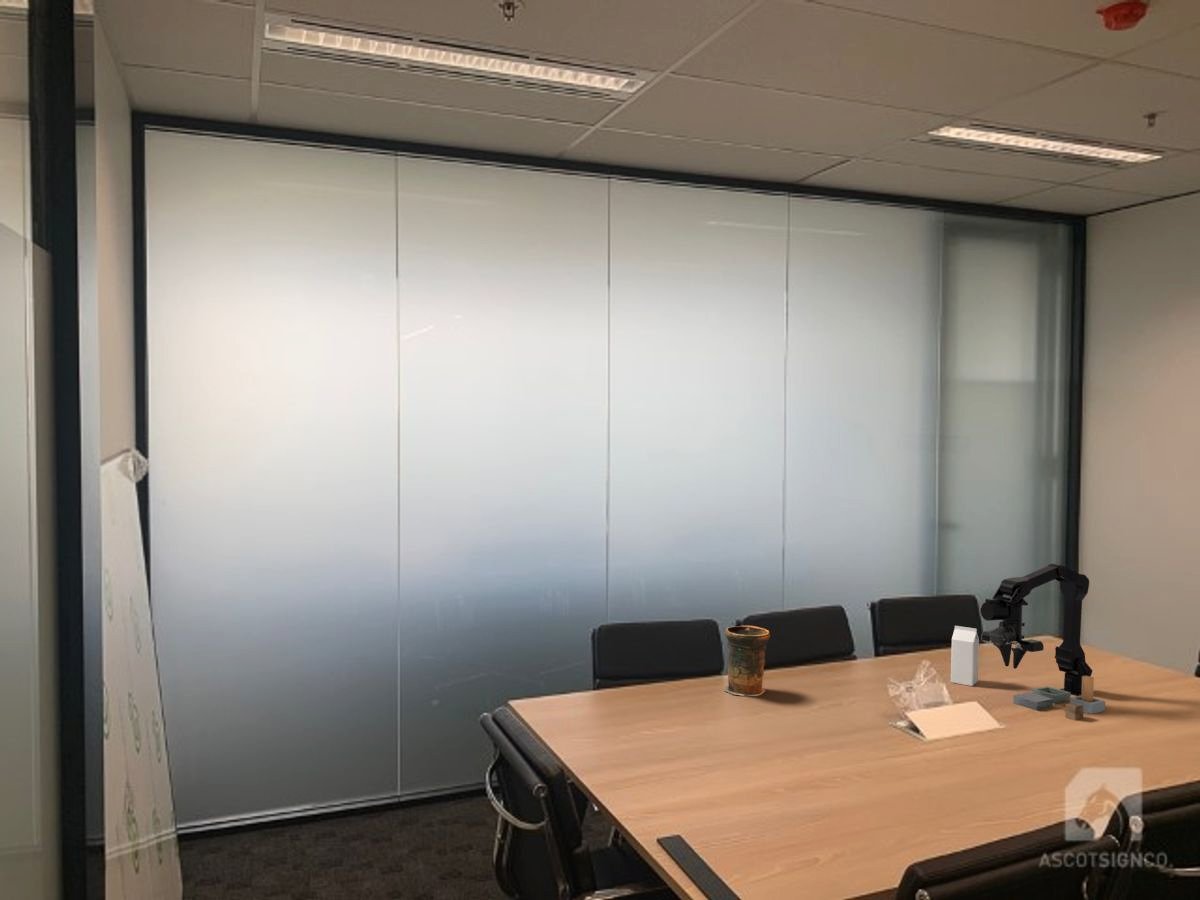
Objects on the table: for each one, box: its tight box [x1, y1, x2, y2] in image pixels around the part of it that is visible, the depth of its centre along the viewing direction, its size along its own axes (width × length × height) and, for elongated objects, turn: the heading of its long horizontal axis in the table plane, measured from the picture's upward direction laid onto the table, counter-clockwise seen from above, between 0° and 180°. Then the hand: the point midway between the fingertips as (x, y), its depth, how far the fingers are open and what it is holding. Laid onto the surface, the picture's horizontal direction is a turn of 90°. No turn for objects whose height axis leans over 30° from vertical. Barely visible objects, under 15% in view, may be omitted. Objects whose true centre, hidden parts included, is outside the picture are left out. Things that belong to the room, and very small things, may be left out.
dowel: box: [1080, 675, 1095, 703], centre depth 270 cm, size 3×3×10 cm
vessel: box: [723, 625, 771, 697], centre depth 282 cm, size 14×14×20 cm
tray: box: [1031, 685, 1072, 705], centre depth 280 cm, size 8×8×2 cm
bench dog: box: [1064, 702, 1084, 721], centre depth 261 cm, size 4×3×4 cm
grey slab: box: [1012, 691, 1054, 712], centre depth 273 cm, size 8×8×3 cm
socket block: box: [1068, 695, 1106, 715], centre depth 270 cm, size 7×7×3 cm
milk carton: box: [950, 625, 980, 687], centre depth 297 cm, size 7×7×19 cm
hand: (1011, 667), depth 280 cm, fingers open, 3 cm apart
